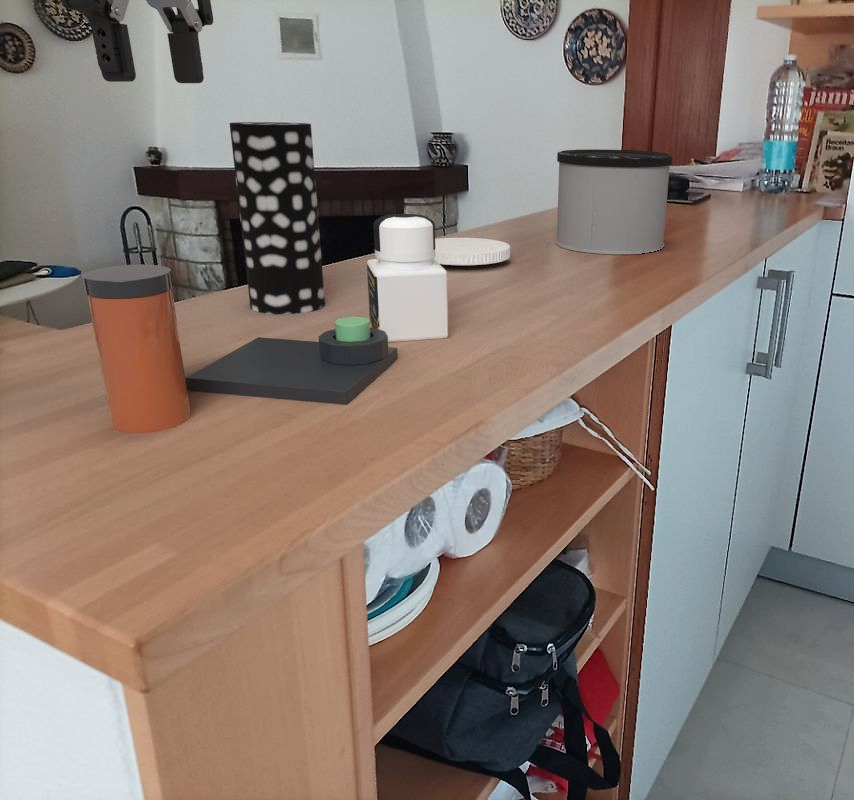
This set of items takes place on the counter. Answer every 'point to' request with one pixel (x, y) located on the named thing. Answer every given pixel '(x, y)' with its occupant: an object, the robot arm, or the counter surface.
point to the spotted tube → (278, 215)
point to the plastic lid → (470, 251)
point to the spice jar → (138, 346)
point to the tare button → (352, 329)
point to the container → (612, 201)
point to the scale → (298, 368)
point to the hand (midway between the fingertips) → (157, 82)
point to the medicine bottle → (407, 280)
